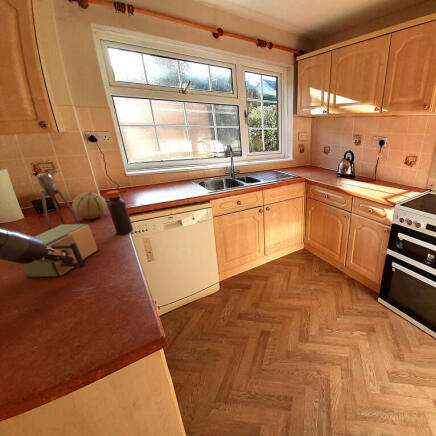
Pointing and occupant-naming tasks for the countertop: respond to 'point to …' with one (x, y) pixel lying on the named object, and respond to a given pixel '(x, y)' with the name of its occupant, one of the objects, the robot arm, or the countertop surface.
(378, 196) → the countertop surface
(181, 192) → the countertop surface
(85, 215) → the cantaloupe
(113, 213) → the bottle
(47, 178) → the juicer
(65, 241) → the brown panel dark handle
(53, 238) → the cabinet
